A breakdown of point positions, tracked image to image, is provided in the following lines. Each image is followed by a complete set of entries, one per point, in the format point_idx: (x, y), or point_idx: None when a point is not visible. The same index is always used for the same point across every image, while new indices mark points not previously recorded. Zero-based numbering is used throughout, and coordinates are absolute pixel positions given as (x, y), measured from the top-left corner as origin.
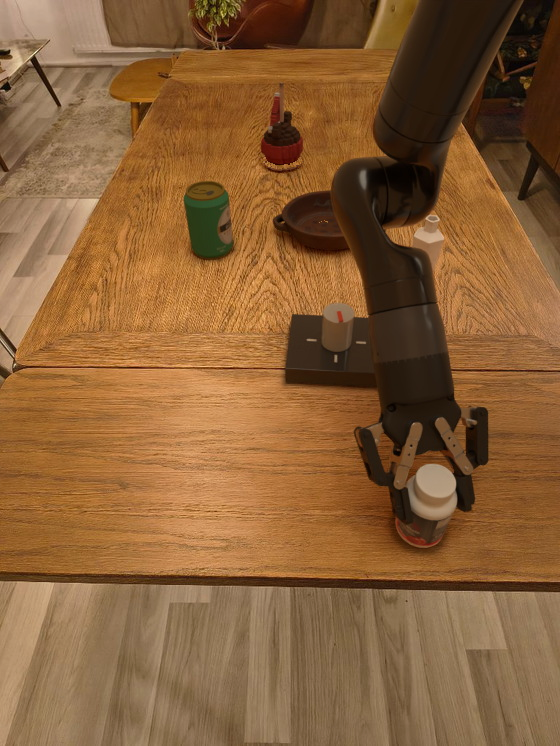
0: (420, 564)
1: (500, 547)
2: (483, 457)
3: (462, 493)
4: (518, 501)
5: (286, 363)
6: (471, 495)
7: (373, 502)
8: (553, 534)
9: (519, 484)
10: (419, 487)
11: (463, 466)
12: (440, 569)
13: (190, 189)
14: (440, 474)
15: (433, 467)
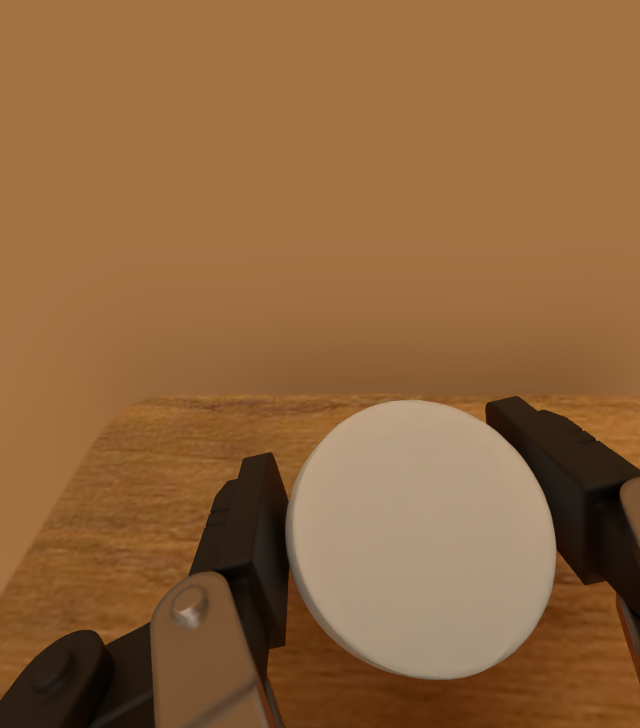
0: None
1: (196, 465)
2: (37, 688)
3: (264, 501)
4: (84, 609)
5: None
6: (225, 505)
7: (540, 637)
8: (59, 498)
9: None
10: (528, 467)
11: (210, 621)
12: (354, 410)
13: None
14: (380, 564)
15: (421, 635)
